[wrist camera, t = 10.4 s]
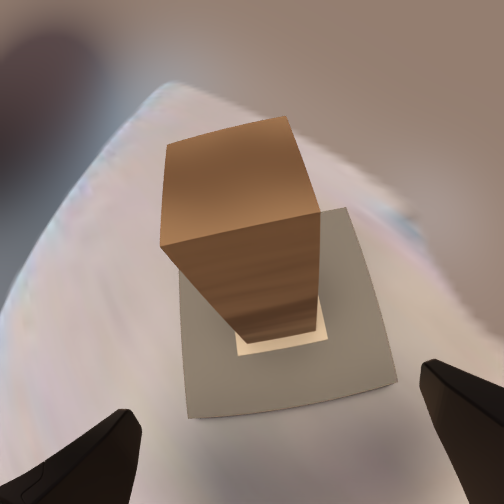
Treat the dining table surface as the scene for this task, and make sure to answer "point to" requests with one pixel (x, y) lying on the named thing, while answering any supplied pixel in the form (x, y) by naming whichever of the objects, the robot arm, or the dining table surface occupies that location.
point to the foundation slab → (291, 342)
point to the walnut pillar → (245, 227)
